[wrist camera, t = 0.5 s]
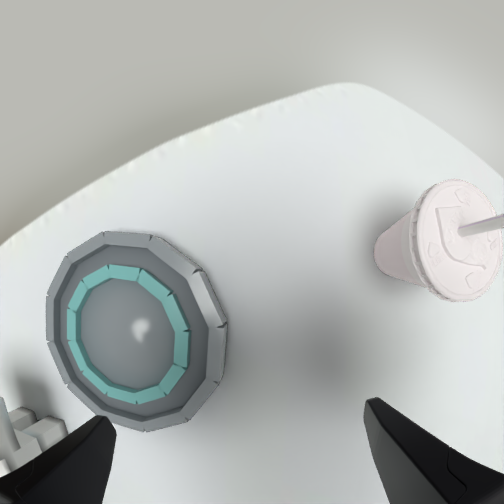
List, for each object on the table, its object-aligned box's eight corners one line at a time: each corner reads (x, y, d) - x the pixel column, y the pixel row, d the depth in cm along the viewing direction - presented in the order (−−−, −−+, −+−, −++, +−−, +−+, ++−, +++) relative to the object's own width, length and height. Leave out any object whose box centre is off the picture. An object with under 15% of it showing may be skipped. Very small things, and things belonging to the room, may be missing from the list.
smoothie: (384, 197, 22) (494, 118, 8) (438, 245, 21) (566, 219, 7) (341, 261, 22) (446, 240, 8) (400, 309, 21) (529, 340, 7)
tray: (260, 387, 21) (259, 397, 19) (106, 432, 21) (97, 441, 19) (175, 202, 23) (166, 195, 21) (39, 280, 23) (26, 280, 21)
